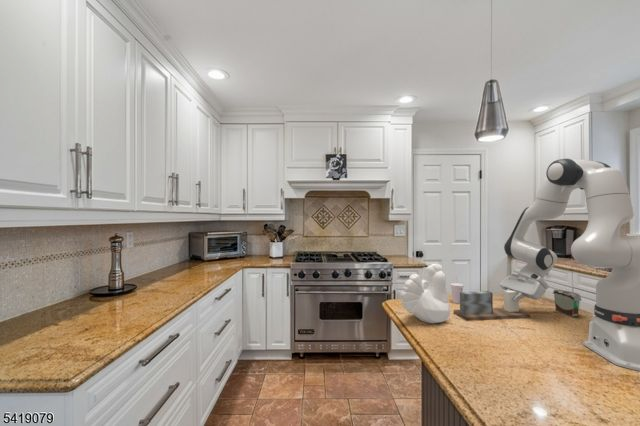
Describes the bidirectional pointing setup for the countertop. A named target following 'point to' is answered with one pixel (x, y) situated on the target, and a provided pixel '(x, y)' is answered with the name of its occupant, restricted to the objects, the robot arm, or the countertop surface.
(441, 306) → the decorative rooster
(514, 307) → the white cylinder
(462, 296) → the stand
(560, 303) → the food container
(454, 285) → the smoothie
